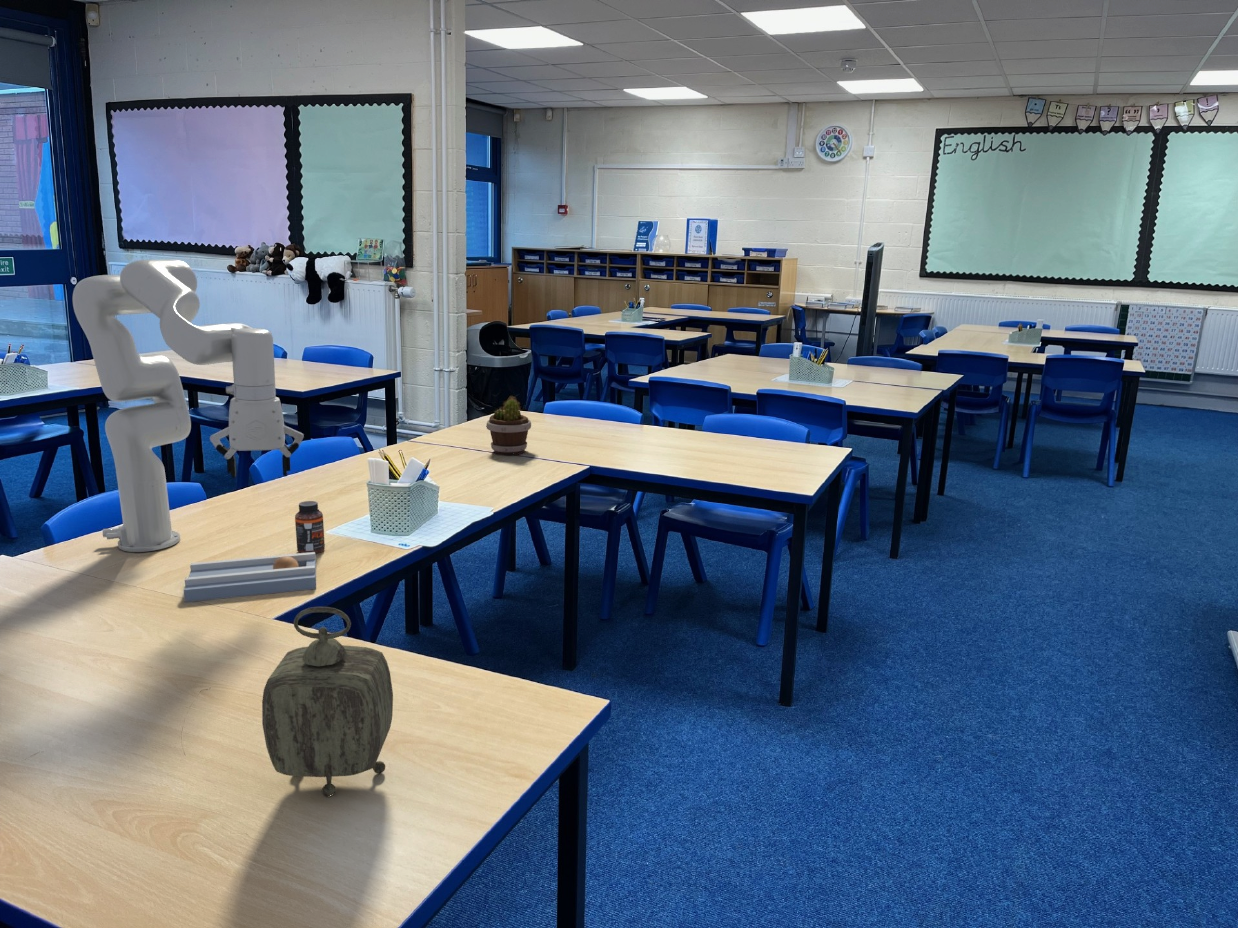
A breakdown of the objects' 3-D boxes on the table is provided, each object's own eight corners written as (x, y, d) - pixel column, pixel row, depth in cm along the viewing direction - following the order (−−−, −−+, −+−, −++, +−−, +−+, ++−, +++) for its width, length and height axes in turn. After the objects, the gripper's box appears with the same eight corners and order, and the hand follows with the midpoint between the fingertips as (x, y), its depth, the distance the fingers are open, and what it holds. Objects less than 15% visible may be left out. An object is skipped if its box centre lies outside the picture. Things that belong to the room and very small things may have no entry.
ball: (283, 588, 178) (267, 571, 176) (284, 580, 183) (268, 563, 181) (304, 573, 179) (287, 555, 177) (304, 565, 183) (288, 548, 182)
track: (185, 602, 169) (182, 584, 168) (194, 575, 181) (192, 559, 181) (316, 588, 176) (314, 571, 175) (316, 564, 189) (314, 548, 188)
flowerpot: (482, 448, 295) (481, 389, 290) (527, 445, 300) (527, 388, 294) (489, 458, 282) (488, 397, 277) (536, 455, 286) (536, 395, 281)
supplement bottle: (316, 556, 194) (312, 508, 191) (292, 554, 195) (288, 506, 192) (330, 547, 199) (327, 500, 196) (306, 545, 200) (303, 498, 197)
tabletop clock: (396, 765, 118) (387, 593, 112) (381, 807, 110) (370, 624, 103) (288, 765, 118) (273, 593, 111) (264, 808, 109) (246, 623, 103)
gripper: (204, 396, 165) (211, 482, 170) (301, 395, 171) (305, 479, 176) (208, 388, 172) (214, 471, 177) (301, 388, 178) (305, 468, 183)
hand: (259, 475), depth 176 cm, fingers open, 9 cm apart
